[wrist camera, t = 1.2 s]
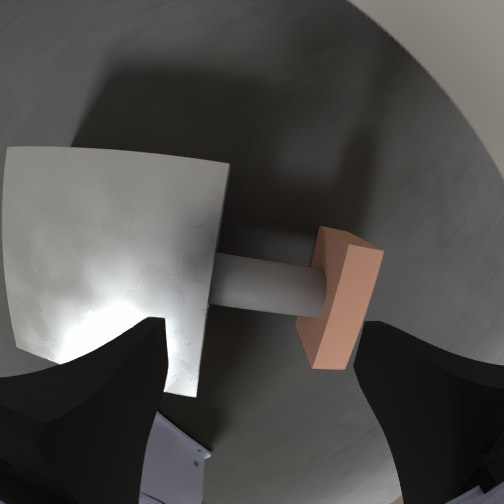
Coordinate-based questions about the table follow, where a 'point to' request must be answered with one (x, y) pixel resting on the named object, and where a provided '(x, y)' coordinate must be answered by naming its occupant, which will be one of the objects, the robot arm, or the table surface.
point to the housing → (110, 250)
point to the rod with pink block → (307, 292)
